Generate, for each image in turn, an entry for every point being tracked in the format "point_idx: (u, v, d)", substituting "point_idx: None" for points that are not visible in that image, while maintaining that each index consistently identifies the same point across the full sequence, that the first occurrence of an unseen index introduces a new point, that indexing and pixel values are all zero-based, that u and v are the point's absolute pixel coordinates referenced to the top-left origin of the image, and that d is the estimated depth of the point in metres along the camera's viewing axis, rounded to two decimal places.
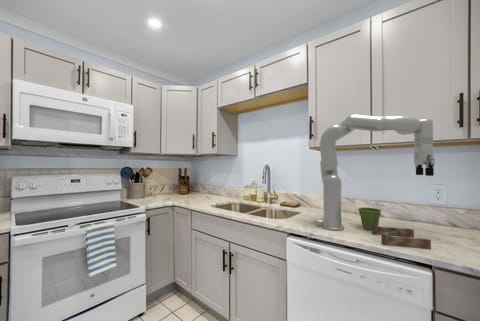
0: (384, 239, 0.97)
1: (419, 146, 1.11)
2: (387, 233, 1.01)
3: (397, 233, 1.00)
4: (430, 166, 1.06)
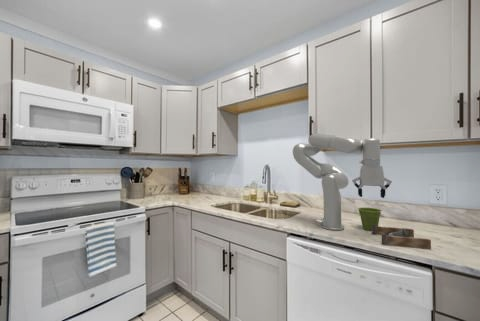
0: (384, 239, 0.97)
1: (377, 167, 1.04)
2: (392, 233, 1.01)
3: (402, 233, 0.99)
4: None
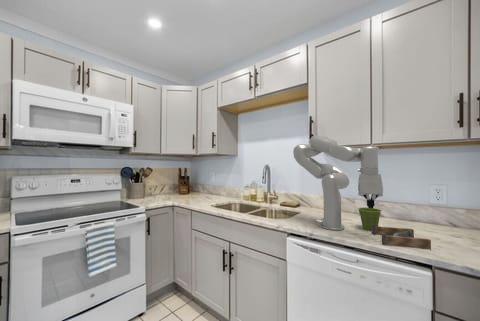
0: (384, 239, 0.97)
1: (375, 175, 1.04)
2: (397, 234, 1.00)
3: (408, 234, 0.99)
4: None
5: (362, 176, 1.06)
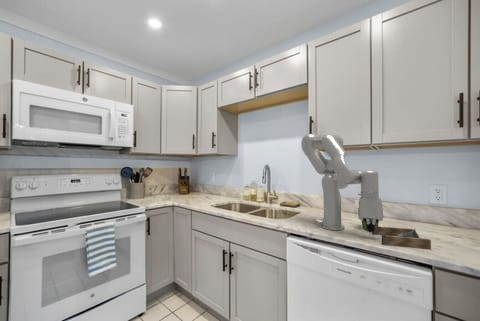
0: (384, 239, 0.97)
1: (375, 200, 1.04)
2: (402, 234, 0.99)
3: (413, 234, 0.98)
4: None
5: (362, 200, 1.06)
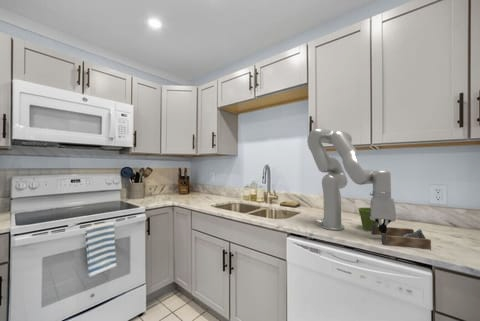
0: (384, 239, 0.97)
1: (388, 200, 1.02)
2: (408, 235, 0.99)
3: (418, 234, 0.97)
4: None
5: (374, 200, 1.04)
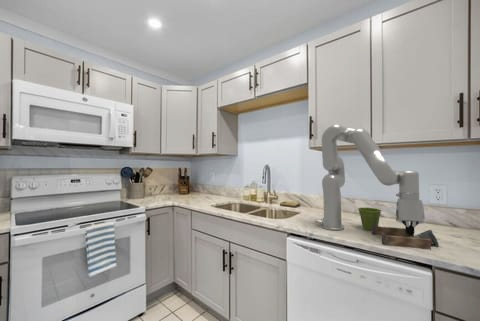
0: (384, 239, 0.97)
1: (416, 201, 0.99)
2: (418, 236, 0.98)
3: (429, 235, 0.97)
4: None
5: (402, 202, 1.01)
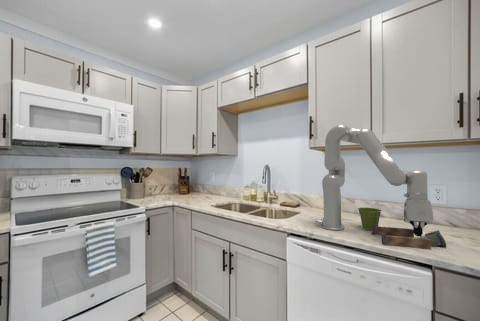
0: (384, 239, 0.97)
1: (424, 202, 0.98)
2: (426, 237, 0.96)
3: (436, 236, 0.96)
4: None
5: (410, 202, 1.00)
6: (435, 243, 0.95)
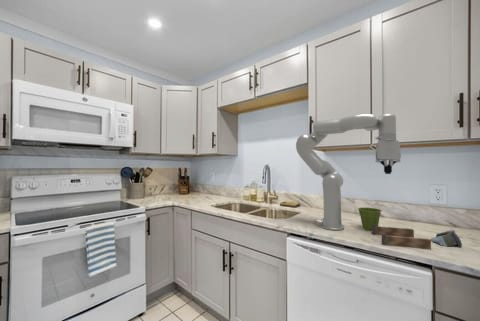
0: (384, 239, 0.97)
1: (393, 141, 1.07)
2: (442, 237, 0.96)
3: (451, 236, 0.96)
4: None
5: (380, 143, 1.09)
6: (451, 243, 0.95)
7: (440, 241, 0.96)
